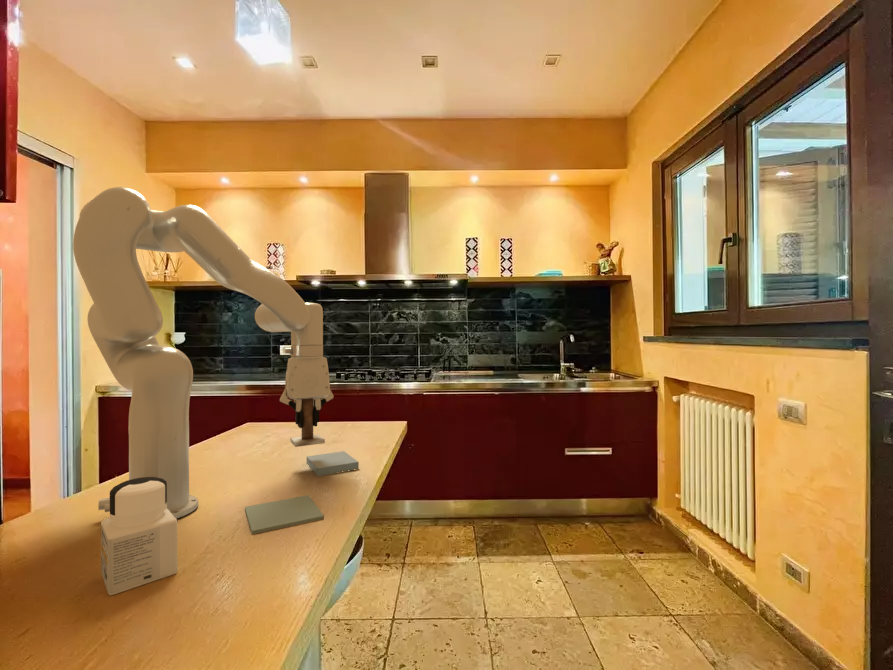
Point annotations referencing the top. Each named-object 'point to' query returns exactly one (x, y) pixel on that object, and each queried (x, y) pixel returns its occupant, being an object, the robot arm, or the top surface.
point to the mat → (282, 514)
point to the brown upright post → (307, 427)
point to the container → (138, 535)
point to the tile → (332, 463)
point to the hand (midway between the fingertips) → (307, 425)
